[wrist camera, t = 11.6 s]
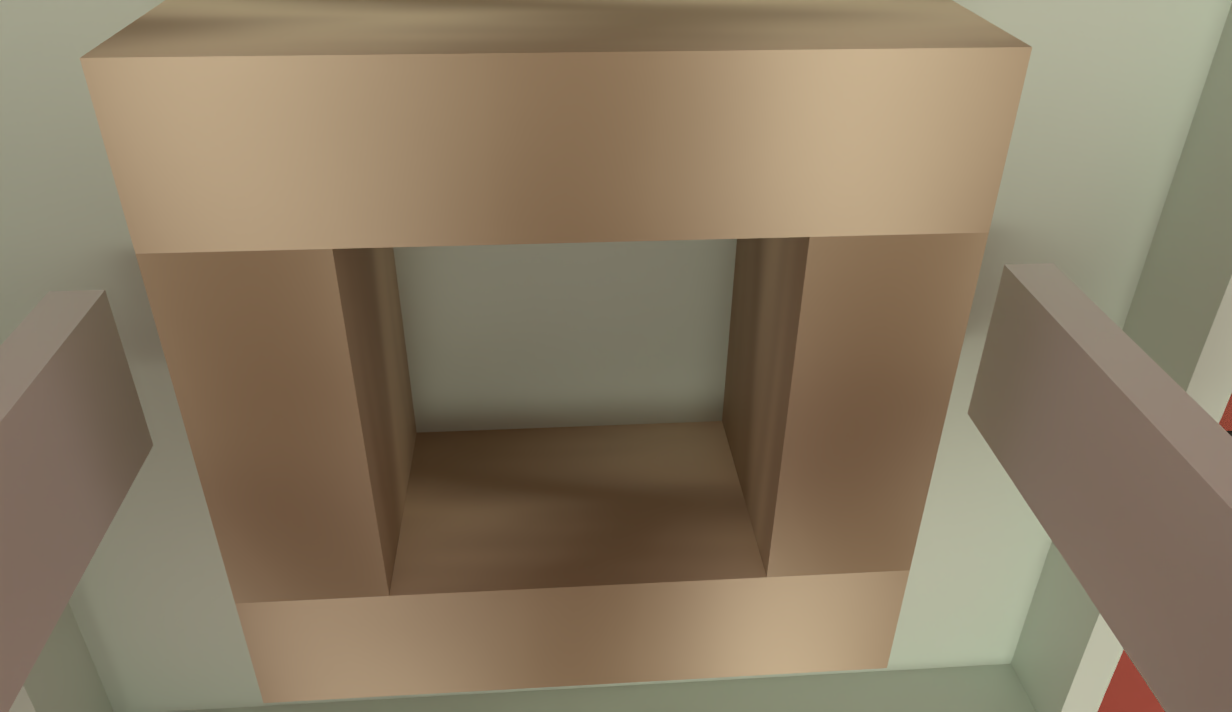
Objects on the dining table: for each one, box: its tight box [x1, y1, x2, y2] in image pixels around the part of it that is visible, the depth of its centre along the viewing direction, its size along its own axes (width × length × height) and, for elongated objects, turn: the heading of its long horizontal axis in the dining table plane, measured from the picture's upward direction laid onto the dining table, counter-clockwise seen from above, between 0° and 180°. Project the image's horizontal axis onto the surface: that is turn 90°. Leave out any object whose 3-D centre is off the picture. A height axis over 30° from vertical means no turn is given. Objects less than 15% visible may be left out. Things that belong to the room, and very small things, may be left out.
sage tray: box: [0, 0, 1232, 712], centre depth 16 cm, size 22×22×3 cm
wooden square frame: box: [80, 0, 1032, 703], centre depth 14 cm, size 10×10×4 cm
